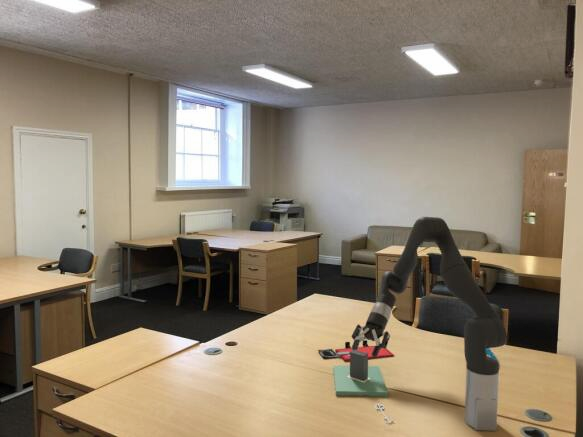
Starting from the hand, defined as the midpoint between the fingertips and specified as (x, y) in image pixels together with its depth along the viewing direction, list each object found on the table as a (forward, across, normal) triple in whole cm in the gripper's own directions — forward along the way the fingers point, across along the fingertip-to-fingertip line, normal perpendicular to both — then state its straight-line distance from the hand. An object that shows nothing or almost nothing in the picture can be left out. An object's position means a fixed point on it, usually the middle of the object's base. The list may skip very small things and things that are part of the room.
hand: (363, 353), depth 171 cm
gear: (-28, +30, +42) cm, 59 cm away
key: (+20, +19, -5) cm, 28 cm away
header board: (+9, 0, +5) cm, 10 cm away
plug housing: (+8, 0, +4) cm, 9 cm away
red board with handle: (-6, -16, +21) cm, 28 cm away
